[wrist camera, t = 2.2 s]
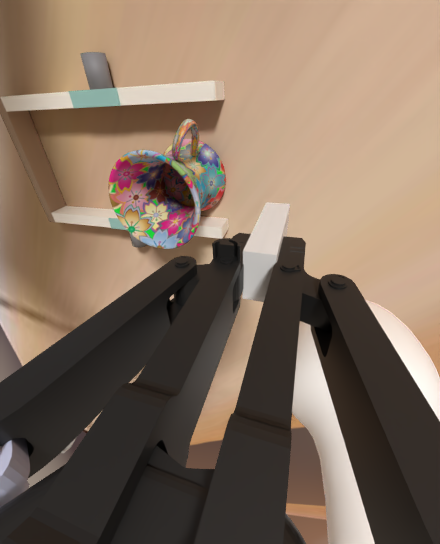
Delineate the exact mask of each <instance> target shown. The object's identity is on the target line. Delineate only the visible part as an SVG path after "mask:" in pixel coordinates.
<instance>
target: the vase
mask: <svg viewBox="0 0 440 544" xmlns="http://www.w3.org/2000/svg"><path fill="white" fill-rule="evenodd" d="M365 301H366V302H367V304H368V306H369V307H370V309H371V310H372V312H373V314H374V315H375V317H376V319H377V320H378V322H379V323H380V325H381V327H382V328H383V330H384V332H385V333H386V335H387V336H388V338H389V340H390V341H391V343H392V345H393V346H394V348H395V349H396V351H397V353H398V354H399V356H400V358H401V359H402V361H403V362H404V364H405V366H406V367H407V369H408V371H409V372H410V374H411V375H412V377H413V379H414V380H415V382H416V384H417V385H418V387H419V388H420V390H421V392H422V393H423V395H424V397H425V398H426V400H427V401H428V403H429V405H430V406H431V408H432V410H433V411H434V413H435V414H436V416H437V418H438V419H439V421H440V377H439V375H438V372H437V370H436V368H435V365H434V363H433V362H432V360H431V358H430V357H429V355H428V353H427V352H426V351H425V349H424V348H423V346H422V345H421V343H420V342H419V340H418V339H417V338H416V337H415V335H414V334H413V333H412V332H411V330H410V329H409V328H408V327H407V326H406V325H405V324H404V323H403V322H402V321H401V320H399V319H398V318H397V317H396V316H395V315H394V314H393V313H391V312H390V311H388V310H387V309H385V308H383V307H382V306H380V305H378V304H376V303H374V302H371V301H369V300H366V299H365ZM292 413H293V415H294V416H295V417H296V418H297V419H298V420H299V421H300V422H301V423H302V424H303V425H304V426H305V427H306V428H307V429H308V431H309V432H310V434H311V435H312V437H313V439H314V442H315V445H316V448H317V451H318V454H319V457H320V462H321V470H322V477H323V485H324V493H325V500H326V515H327V530H328V544H375V543H374V539H373V536H372V533H371V529H370V526H369V523H368V519H367V516H366V513H365V509H364V506H363V503H362V499H361V496H360V493H359V489H358V486H357V483H356V479H355V476H354V473H353V469H352V466H351V463H350V459H349V456H348V453H347V449H346V446H345V443H344V439H343V436H342V433H341V429H340V426H339V423H338V419H337V416H336V413H335V409H334V406H333V403H332V399H331V396H330V393H329V389H328V386H327V383H326V379H325V376H324V373H323V369H322V366H321V363H320V359H319V356H318V353H317V349H316V346H315V343H314V339H313V336H312V333H311V325H309V324H306V323H304V322H302V321H300V324H299V336H298V347H297V359H296V370H295V382H294V394H293V405H292Z"/></svg>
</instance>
